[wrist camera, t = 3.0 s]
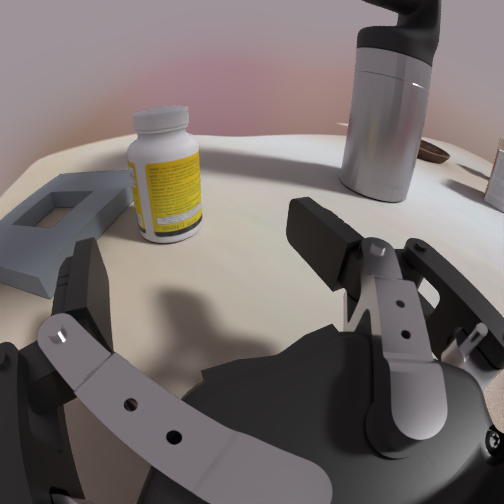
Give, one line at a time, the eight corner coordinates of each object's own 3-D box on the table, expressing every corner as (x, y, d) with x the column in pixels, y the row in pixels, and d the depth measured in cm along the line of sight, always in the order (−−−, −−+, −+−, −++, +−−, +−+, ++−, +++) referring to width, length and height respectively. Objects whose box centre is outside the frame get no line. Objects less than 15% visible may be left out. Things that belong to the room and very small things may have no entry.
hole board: (63, 187, 30) (60, 174, 29) (147, 186, 29) (145, 169, 28) (-27, 270, 15) (-35, 254, 14) (50, 299, 15) (38, 277, 13)
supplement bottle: (214, 218, 23) (212, 104, 18) (178, 253, 19) (164, 115, 14) (165, 206, 25) (157, 105, 19) (127, 235, 21) (107, 118, 15)
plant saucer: (456, 167, 53) (459, 156, 52) (430, 167, 47) (433, 154, 45) (407, 143, 66) (409, 133, 64) (372, 140, 59) (374, 129, 57)
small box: (484, 192, 39) (497, 147, 33) (504, 205, 36) (519, 160, 30) (483, 200, 35) (498, 149, 29) (505, 214, 32) (523, 163, 26)
